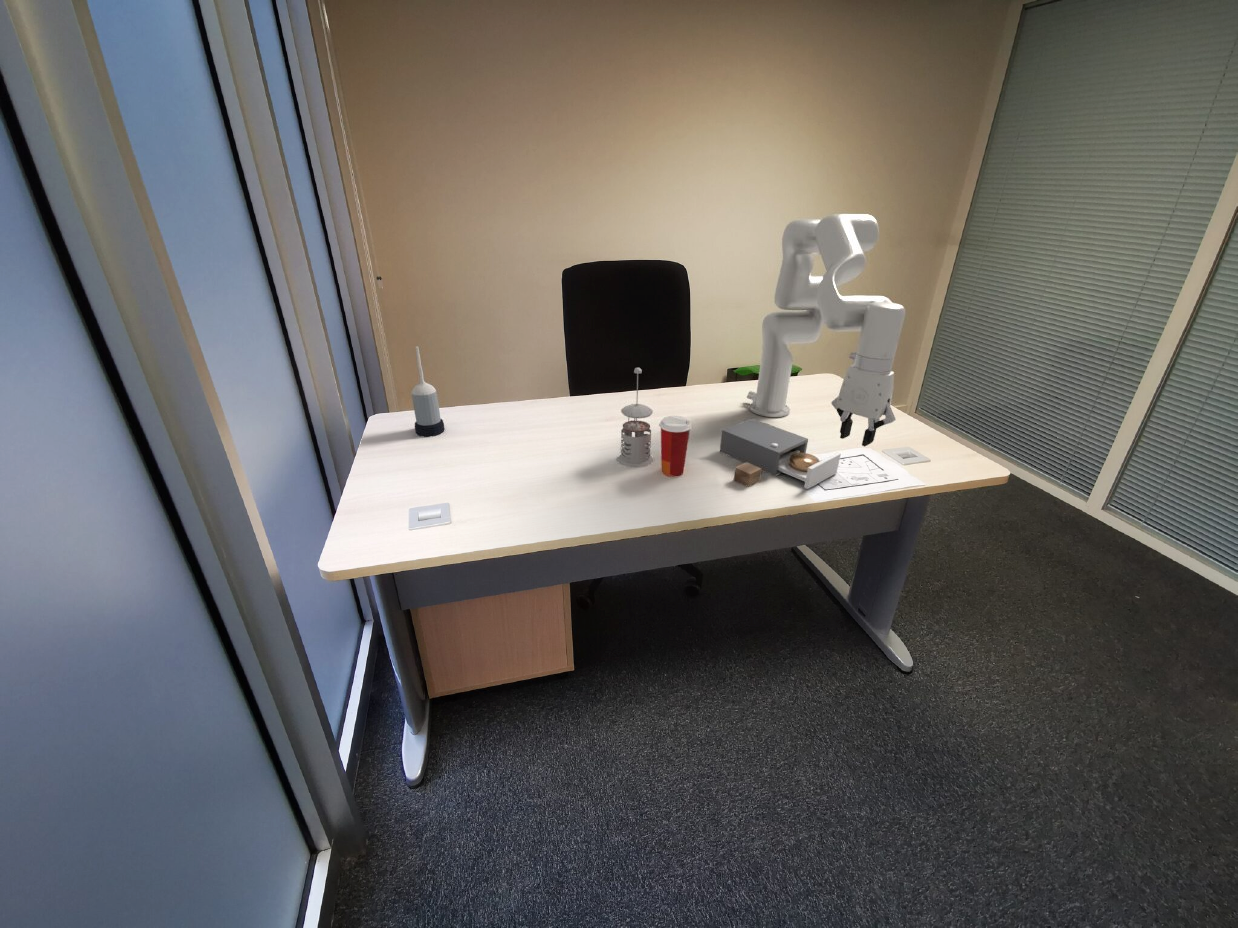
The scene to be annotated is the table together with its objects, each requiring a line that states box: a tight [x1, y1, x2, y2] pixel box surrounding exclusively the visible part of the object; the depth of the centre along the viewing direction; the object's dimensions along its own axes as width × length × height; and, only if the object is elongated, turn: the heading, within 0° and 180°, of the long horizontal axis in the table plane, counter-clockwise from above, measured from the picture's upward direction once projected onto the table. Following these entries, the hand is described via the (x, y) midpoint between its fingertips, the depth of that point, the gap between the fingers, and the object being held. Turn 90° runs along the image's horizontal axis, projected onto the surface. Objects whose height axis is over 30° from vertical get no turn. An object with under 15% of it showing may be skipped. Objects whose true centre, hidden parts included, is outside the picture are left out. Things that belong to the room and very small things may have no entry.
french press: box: [616, 367, 655, 469], centre depth 138 cm, size 10×12×25 cm
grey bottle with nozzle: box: [411, 346, 446, 438], centre depth 153 cm, size 8×8×25 cm
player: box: [719, 418, 809, 477], centre depth 144 cm, size 18×13×7 cm
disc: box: [789, 452, 820, 472], centre depth 136 cm, size 7×7×2 cm
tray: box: [778, 450, 841, 490], centre depth 138 cm, size 18×13×5 cm
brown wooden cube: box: [733, 462, 763, 488], centre depth 132 cm, size 4×4×4 cm
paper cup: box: [658, 415, 692, 478], centre depth 134 cm, size 8×8×14 cm
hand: (855, 440), depth 123 cm, fingers open, 4 cm apart
